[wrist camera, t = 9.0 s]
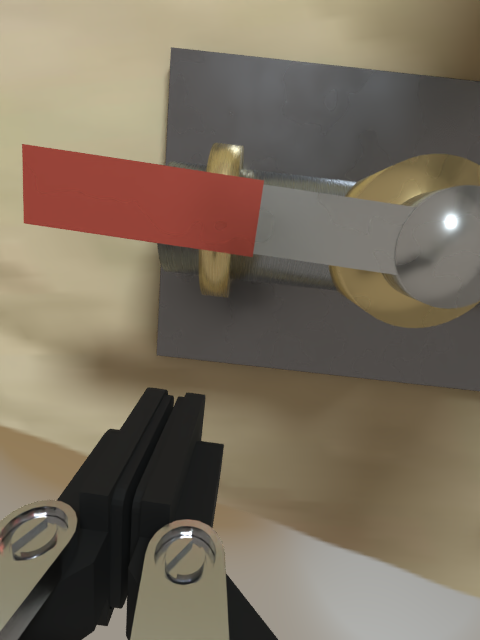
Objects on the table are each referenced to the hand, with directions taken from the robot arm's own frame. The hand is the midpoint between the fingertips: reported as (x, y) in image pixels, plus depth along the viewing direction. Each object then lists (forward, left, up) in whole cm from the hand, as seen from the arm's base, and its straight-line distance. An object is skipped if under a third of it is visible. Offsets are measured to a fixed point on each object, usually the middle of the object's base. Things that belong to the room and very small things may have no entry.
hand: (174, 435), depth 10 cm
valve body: (-6, +8, -11) cm, 15 cm away
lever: (-6, +2, -3) cm, 7 cm away
